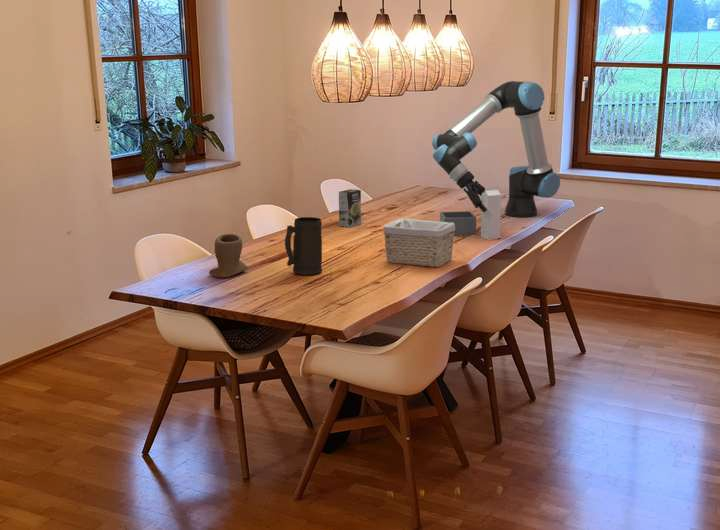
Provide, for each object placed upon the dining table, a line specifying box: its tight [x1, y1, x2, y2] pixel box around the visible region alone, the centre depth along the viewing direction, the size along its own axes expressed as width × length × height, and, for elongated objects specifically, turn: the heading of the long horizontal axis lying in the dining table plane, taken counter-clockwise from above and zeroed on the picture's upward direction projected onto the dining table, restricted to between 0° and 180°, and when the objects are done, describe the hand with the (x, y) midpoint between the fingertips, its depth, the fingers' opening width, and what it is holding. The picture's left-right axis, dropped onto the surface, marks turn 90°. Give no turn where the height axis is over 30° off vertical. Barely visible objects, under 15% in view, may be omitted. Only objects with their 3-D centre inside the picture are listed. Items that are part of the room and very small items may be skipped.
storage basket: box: [382, 217, 455, 268], centre depth 325 cm, size 24×16×15 cm
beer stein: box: [284, 216, 323, 276], centre depth 310 cm, size 15×11×20 cm
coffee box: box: [338, 188, 362, 228], centre depth 390 cm, size 9×6×16 cm
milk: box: [480, 185, 502, 240], centre depth 359 cm, size 6×6×22 cm
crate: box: [439, 210, 477, 237], centre depth 372 cm, size 14×14×8 cm
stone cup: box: [208, 233, 249, 278], centre depth 312 cm, size 15×12×15 cm
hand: (496, 213), depth 358 cm, fingers open, 13 cm apart
